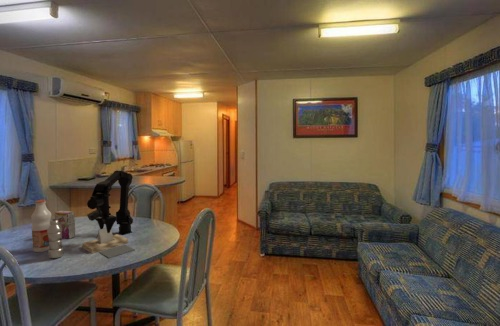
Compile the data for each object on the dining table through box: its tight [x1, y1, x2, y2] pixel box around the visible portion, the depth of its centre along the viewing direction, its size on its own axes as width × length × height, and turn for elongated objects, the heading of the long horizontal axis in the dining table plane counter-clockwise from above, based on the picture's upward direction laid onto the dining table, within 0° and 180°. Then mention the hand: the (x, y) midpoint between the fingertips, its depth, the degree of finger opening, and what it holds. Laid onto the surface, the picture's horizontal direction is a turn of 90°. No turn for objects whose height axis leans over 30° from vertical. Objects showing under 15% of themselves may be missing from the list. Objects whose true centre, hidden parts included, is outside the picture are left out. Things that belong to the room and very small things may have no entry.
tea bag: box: [97, 227, 114, 244], centre depth 163 cm, size 4×7×10 cm, turn 141°
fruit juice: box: [30, 199, 52, 253], centre depth 157 cm, size 9×9×28 cm
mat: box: [99, 244, 136, 259], centre depth 153 cm, size 14×12×1 cm
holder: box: [81, 233, 129, 254], centre depth 163 cm, size 20×14×2 cm
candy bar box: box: [54, 210, 77, 240], centre depth 177 cm, size 11×5×16 cm, turn 72°
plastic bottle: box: [47, 218, 65, 259], centre depth 145 cm, size 6×7×20 cm
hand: (105, 231), depth 163 cm, fingers open, 9 cm apart
